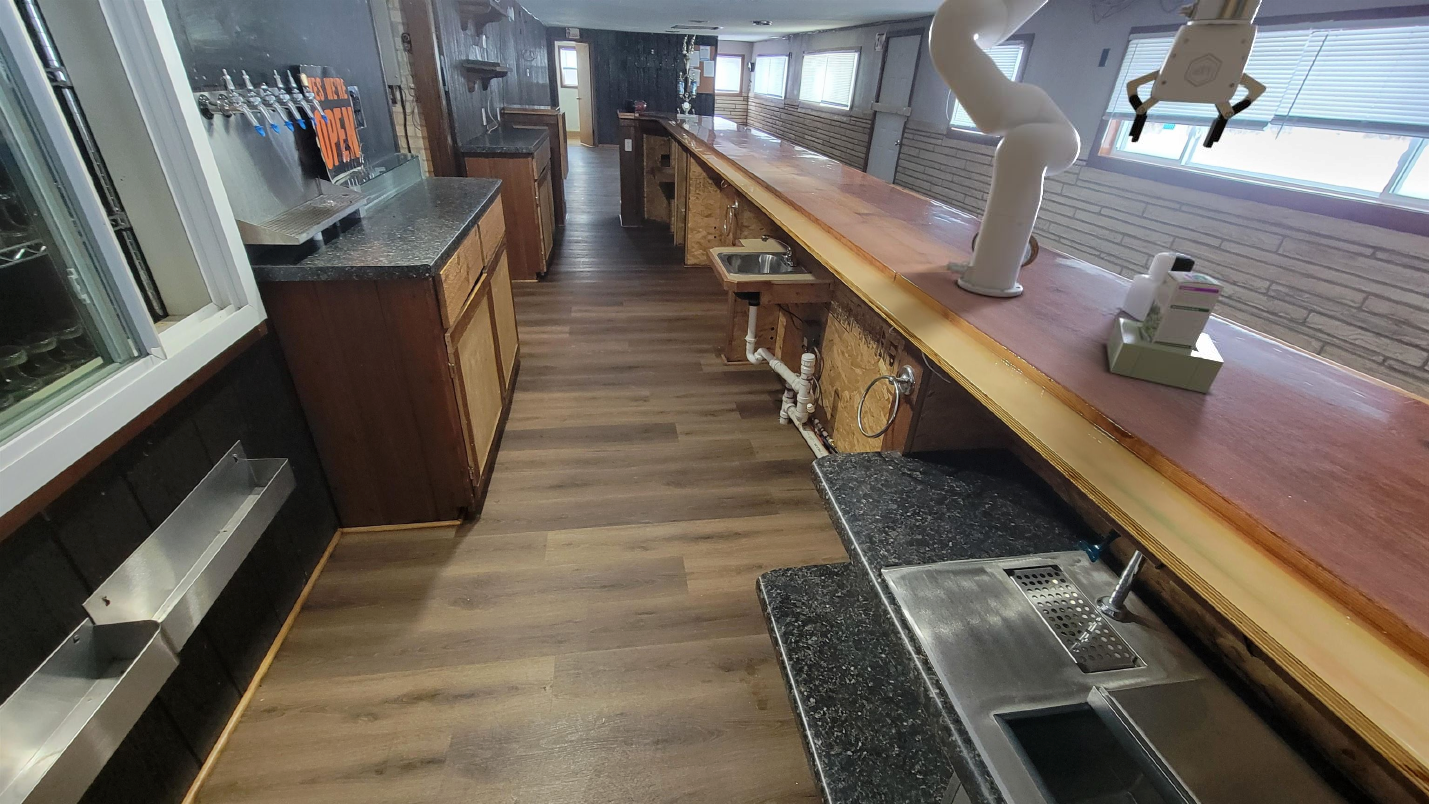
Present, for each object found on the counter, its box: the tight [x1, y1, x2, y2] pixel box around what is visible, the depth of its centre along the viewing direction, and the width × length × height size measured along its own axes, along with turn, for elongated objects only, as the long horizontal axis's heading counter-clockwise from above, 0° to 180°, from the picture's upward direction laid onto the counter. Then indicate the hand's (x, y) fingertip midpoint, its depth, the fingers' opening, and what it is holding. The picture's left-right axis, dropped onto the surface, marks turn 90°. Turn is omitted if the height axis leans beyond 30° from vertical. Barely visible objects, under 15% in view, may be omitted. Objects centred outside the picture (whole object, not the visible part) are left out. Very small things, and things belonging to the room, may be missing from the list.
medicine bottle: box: [1120, 251, 1196, 323], centre depth 106 cm, size 7×7×12 cm
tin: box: [971, 231, 1040, 269], centre depth 135 cm, size 15×3×8 cm, turn 43°
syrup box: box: [1139, 271, 1225, 351], centre depth 84 cm, size 6×6×14 cm
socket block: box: [1106, 317, 1225, 394], centre depth 87 cm, size 12×12×5 cm
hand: (1169, 144), depth 90 cm, fingers open, 9 cm apart
